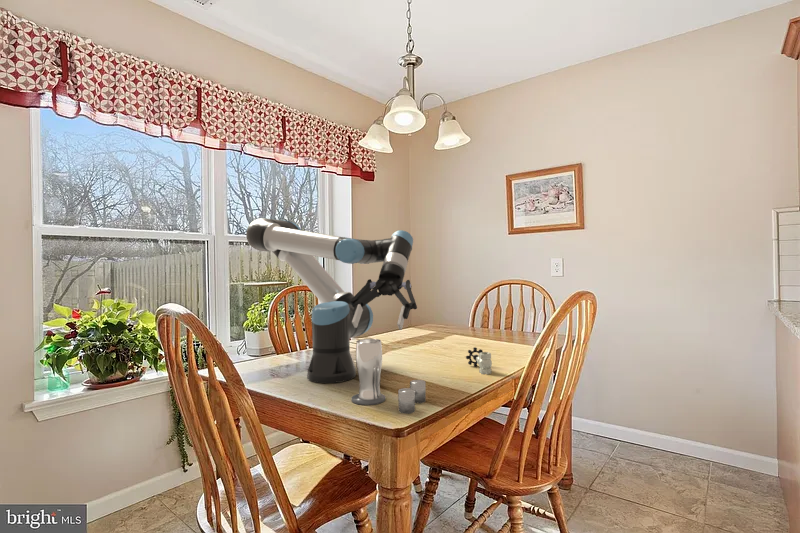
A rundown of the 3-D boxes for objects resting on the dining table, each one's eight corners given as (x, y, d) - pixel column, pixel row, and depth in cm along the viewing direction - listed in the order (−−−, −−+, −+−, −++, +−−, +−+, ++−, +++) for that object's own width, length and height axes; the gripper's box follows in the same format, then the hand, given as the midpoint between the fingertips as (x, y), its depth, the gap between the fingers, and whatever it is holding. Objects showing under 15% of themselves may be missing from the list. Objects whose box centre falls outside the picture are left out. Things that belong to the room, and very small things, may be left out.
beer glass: (372, 403, 112) (371, 344, 111) (351, 398, 115) (350, 341, 115) (387, 395, 117) (387, 339, 117) (366, 391, 121) (366, 337, 121)
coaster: (346, 403, 113) (346, 401, 113) (358, 393, 122) (358, 391, 122) (379, 406, 111) (379, 403, 111) (389, 395, 120) (389, 393, 120)
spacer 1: (396, 413, 106) (396, 392, 106) (400, 407, 110) (400, 387, 110) (412, 414, 105) (412, 393, 105) (416, 408, 109) (416, 388, 109)
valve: (497, 374, 140) (484, 365, 152) (497, 353, 140) (483, 346, 152) (477, 375, 139) (465, 366, 151) (477, 354, 139) (465, 347, 151)
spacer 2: (408, 402, 114) (408, 383, 113) (412, 398, 117) (412, 379, 117) (423, 403, 112) (423, 384, 112) (427, 399, 116) (426, 380, 116)
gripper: (434, 278, 137) (421, 335, 123) (360, 278, 144) (340, 331, 131) (429, 262, 131) (416, 319, 118) (353, 262, 139) (332, 316, 125)
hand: (376, 326), depth 124 cm, fingers open, 13 cm apart
